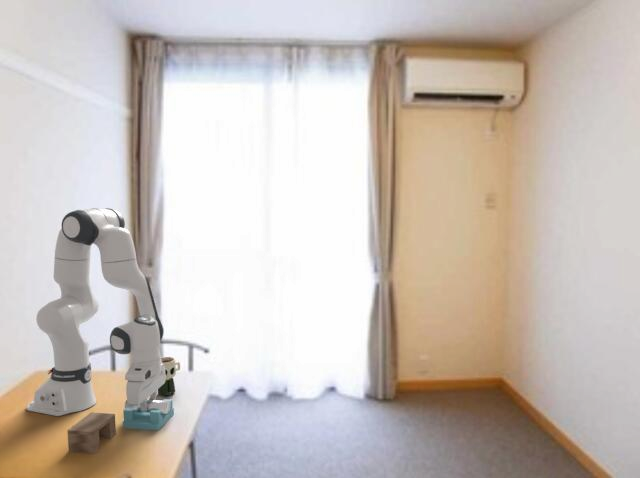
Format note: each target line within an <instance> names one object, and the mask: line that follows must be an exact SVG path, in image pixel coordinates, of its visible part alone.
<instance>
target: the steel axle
mask: <svg viewBox="0 0 640 478" xmlns="http://www.w3.org/2000/svg"><path fill="white" fill-rule="evenodd" d="M146 404H147V405H148V410H147V411H146V412H147V413H150V411H151V410H160V411H161V413H162V414H168V413H169V411H170V401H162V400H161V399H159V400H158V399H156V400H149V399H147V401H146ZM126 408H130V409H135V412H143V411H141V406H140V405H139V406H133V405H129V404H128V402H127V399H126V400H125V402H124V409H126Z"/></svg>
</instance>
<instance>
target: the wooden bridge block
mask: <svg viewBox="0 0 640 478" xmlns="http://www.w3.org/2000/svg"><path fill="white" fill-rule="evenodd" d="M116 426H117V425H116V414H115V413H106V412H105V413H104V412H90V413H89V414H88V413H87V415H85V416H84V417H83V418H82V419H81V420H79V421H78V422H76V423H74V425H72V426H71V427H69V429H67V431H66V432H67V444H68V445H67V446H68V447H67V448H68V452H70V453H72V452H73V453H83V454H95V453H96V452H98V450H99V449H100V448H101V447H100V439H112V438H113V437H114V436H116V435H117V430H116V429H117V428H116Z"/></svg>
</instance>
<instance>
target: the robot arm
mask: <svg viewBox="0 0 640 478" xmlns="http://www.w3.org/2000/svg"><path fill="white" fill-rule="evenodd" d="M125 224H126V222H125V218H124V216H123V215H122V213H121V212H120V211H118V210H116V209H113V208H109V207H107V208H99V207H97V208H96V207H95V208H94V207H93V208H87V209H82V210H81V209H77V210H73V211H71V212H68V213H66V215H64V216H63V218H62V221H61V229H59V231H58V236H57V239H56V243H55V249H54V261H53V262H54V263H53V280H54V282H55V283H57V284H58V285H59V288H60V291H61V295H60V298H58V299H55V300H52V301H49V302H48V303H46V304H45V305H44V306H43V307H41V308H40V309H39V310H38V312H37V313H36V317H35V318H36V324H37V326H38V328H39V329H40V330H41V332H43V333H45V334H46V335H47V336H48V338H49V340H50V342H51V346H52V353H53V364H54V367H51V369H49V370H48V371H47V372H48V373H47V375H50V374H51V375H50V377H49V378H48V379H47V380H45V382H43V383H42V384H41V385H40V386H38V387H37V388H36V390H35V391H34V396H33V400H32V401H30V402H29V403H28V404H27V406H26V411H28V412H34V413H40V414H44V415H50V416H55V417H60V416H64V415H68V414H71V413H77V412H81V411H84V410H86V409H90V408H91V407H92V406H94V405H95V404H97V398H96V395H95V393H94V389H93V384H92V364H91V362H90V349H89V342H88V341H87V339H85V338H84V337H83V336H82V334H81V332H80V325H82V324H83V323H86V322H88V321H89V320H90V319H92V318H93V317H94V316H95V315H97V312H98V310H99V307H100V306H99V301H98V298H97V297H96V295H94V294H93V292H92V287H91V284H90V264H91V248H92V245H93V244H94V245H96V247H97V248H98V250H99V254H100V255H99V256H100V264H101V265H100V266H101V273H102V276H103V278H104V280H105V281H106V282H107V283H108V284H109V285H111V286H112V287H115V288H117V289H118V288H119V289H122V290H123V289H124V290H126V291H130V292H131V293H132V294H133V295H134V297H135V300H136V304H137V307H138V310H139V315H140V316H136V317H134V318H133V319H131V321H129V322H127V323H123V324H121V325H117V326H116V327H114V328H113V329H112V331H111V332H110V335H109V336H110V337H109V344H110V347H111V349H112V350H113V351H114V352H115V353H116V354H118V355H128V354H129V355H131V356H132V357H131V358H132V360H131V361H132V363H131V364H130V366H129V368H128V370H127V372H125V375H124V380H125V381H126V385H125V386H126V387H125V389H126V390H125V392H126V400H127V402H128V404H129V405H133V406H139V405H140V406H141V411H143V412H146V411H147V410H148V405H147V404H146V401H147V400H157V399H156V398H157V394H158V389H159V388H160V387H161V386H162V385H163V384H164V383H165V381H166V374H165V367H164V364H162V360H161V358H162V356H161V352H160V346H161V341H162V340H163V338H164V337H163V336H164V333H165V332H164V331H165V329H164V326H163V323H162V321H161V320H160V316H159V314H158V310H157V306H156V302H155V300H154V295H153V293H152V292H153V291H152V288H151V284H150V282H149V279H148V277H147V276H146V275H145V274H144V273H143V272H142V271H141V269H140V267H139V264H138V260H137V254H136V247H135V243H134V240H133V237H132V234H131V232H130V231H129V230H128V229H126V228H125Z"/></svg>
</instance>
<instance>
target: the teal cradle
mask: <svg viewBox="0 0 640 478" xmlns="http://www.w3.org/2000/svg"><path fill="white" fill-rule="evenodd" d="M161 401H170V411H169V413H168V414H162V413H161V411H160V410H151V411H150V413H147V412H135V409H130V408H126V409H125V408H124V409H123V411H122V412H123V421H122V429H132V430H146V431H159V430H160V429H161V428H162V427H163V426H165V424H167V422H168V421H169V420H170V419H171V418H172V416H174V415H175V409H174V408H173V399H168V398H167V399H166V398H163V399H162V400H161Z"/></svg>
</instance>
